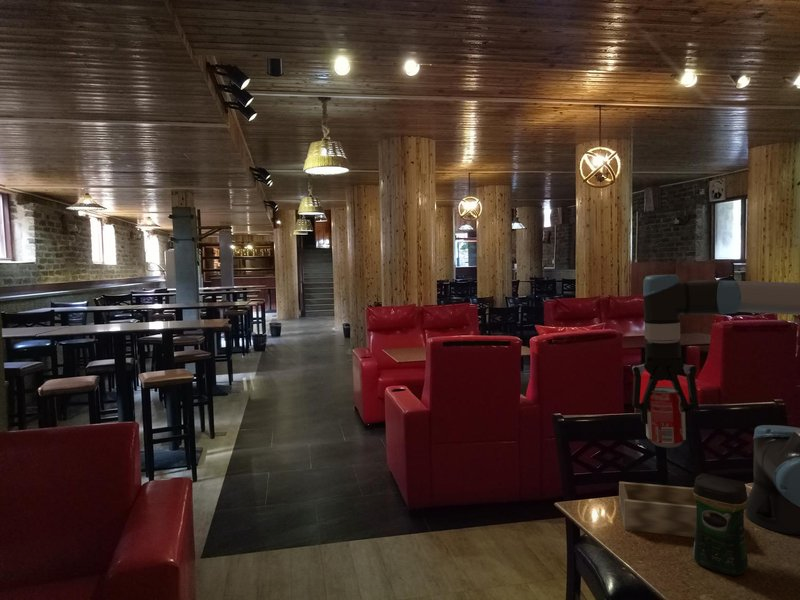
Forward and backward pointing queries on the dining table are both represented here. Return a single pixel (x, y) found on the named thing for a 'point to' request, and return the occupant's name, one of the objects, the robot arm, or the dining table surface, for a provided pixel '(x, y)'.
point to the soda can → (666, 417)
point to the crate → (658, 508)
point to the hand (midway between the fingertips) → (665, 437)
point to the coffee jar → (720, 524)
